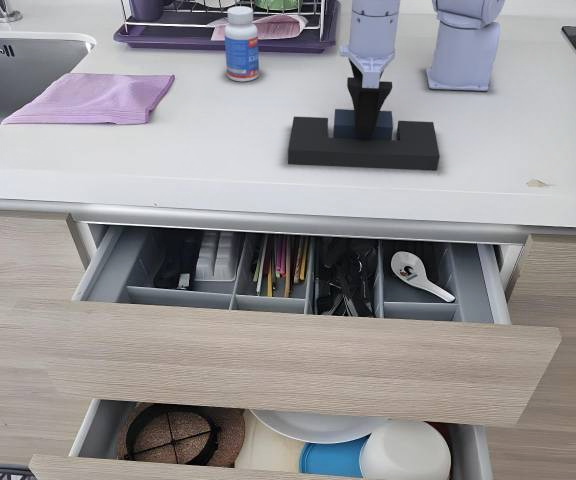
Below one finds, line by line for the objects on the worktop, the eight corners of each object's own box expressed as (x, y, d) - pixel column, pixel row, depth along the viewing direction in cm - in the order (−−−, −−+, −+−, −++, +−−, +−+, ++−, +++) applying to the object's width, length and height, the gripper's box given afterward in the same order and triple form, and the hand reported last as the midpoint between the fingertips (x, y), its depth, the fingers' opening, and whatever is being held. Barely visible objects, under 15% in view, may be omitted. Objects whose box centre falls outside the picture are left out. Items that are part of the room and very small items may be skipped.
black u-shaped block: (430, 135, 84) (433, 121, 83) (436, 170, 78) (439, 156, 76) (293, 130, 85) (293, 116, 84) (288, 163, 79) (288, 149, 77)
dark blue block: (388, 135, 84) (391, 111, 82) (389, 152, 81) (393, 127, 78) (333, 133, 85) (334, 108, 82) (332, 149, 81) (333, 124, 79)
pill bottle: (254, 83, 96) (252, 17, 89) (223, 81, 97) (218, 14, 89) (262, 71, 100) (260, 5, 92) (232, 68, 100) (227, 3, 93)
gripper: (343, -10, 75) (336, 98, 85) (341, 29, 66) (333, 145, 76) (398, -9, 75) (384, 99, 85) (403, 30, 65) (387, 147, 76)
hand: (364, 121), depth 81 cm, fingers open, 7 cm apart
